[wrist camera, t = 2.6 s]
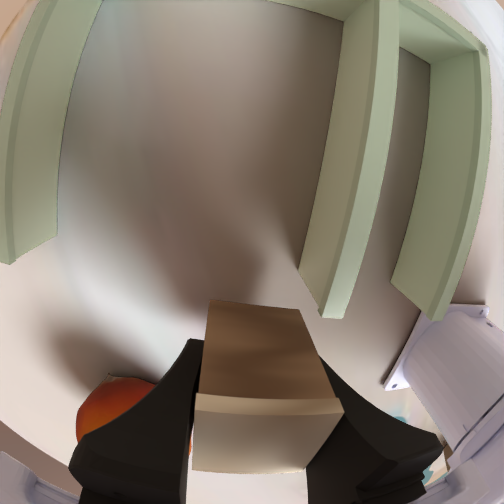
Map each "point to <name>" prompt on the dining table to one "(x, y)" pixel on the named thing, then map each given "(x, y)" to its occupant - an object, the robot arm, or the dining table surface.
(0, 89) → the dining table surface
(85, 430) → the fruit
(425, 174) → the divider frame
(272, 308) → the walnut box
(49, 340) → the dining table surface
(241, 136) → the dining table surface
